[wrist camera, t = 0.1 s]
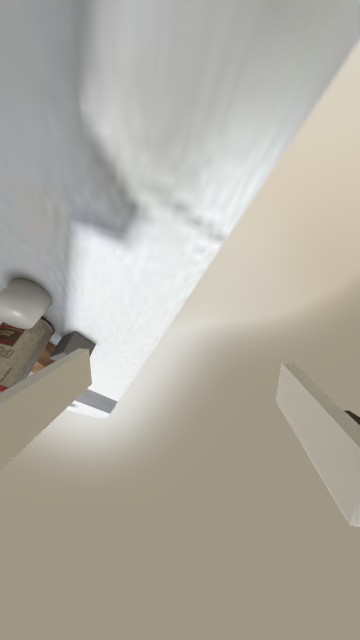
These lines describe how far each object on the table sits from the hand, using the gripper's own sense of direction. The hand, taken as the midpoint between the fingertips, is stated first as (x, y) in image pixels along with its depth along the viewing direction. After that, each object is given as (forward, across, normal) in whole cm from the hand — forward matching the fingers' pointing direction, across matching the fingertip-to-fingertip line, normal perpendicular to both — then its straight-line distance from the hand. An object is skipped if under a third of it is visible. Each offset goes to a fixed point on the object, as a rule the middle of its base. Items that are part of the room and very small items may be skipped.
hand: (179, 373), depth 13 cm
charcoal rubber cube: (+24, -24, -7) cm, 35 cm away
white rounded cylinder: (+17, -26, +3) cm, 31 cm away
